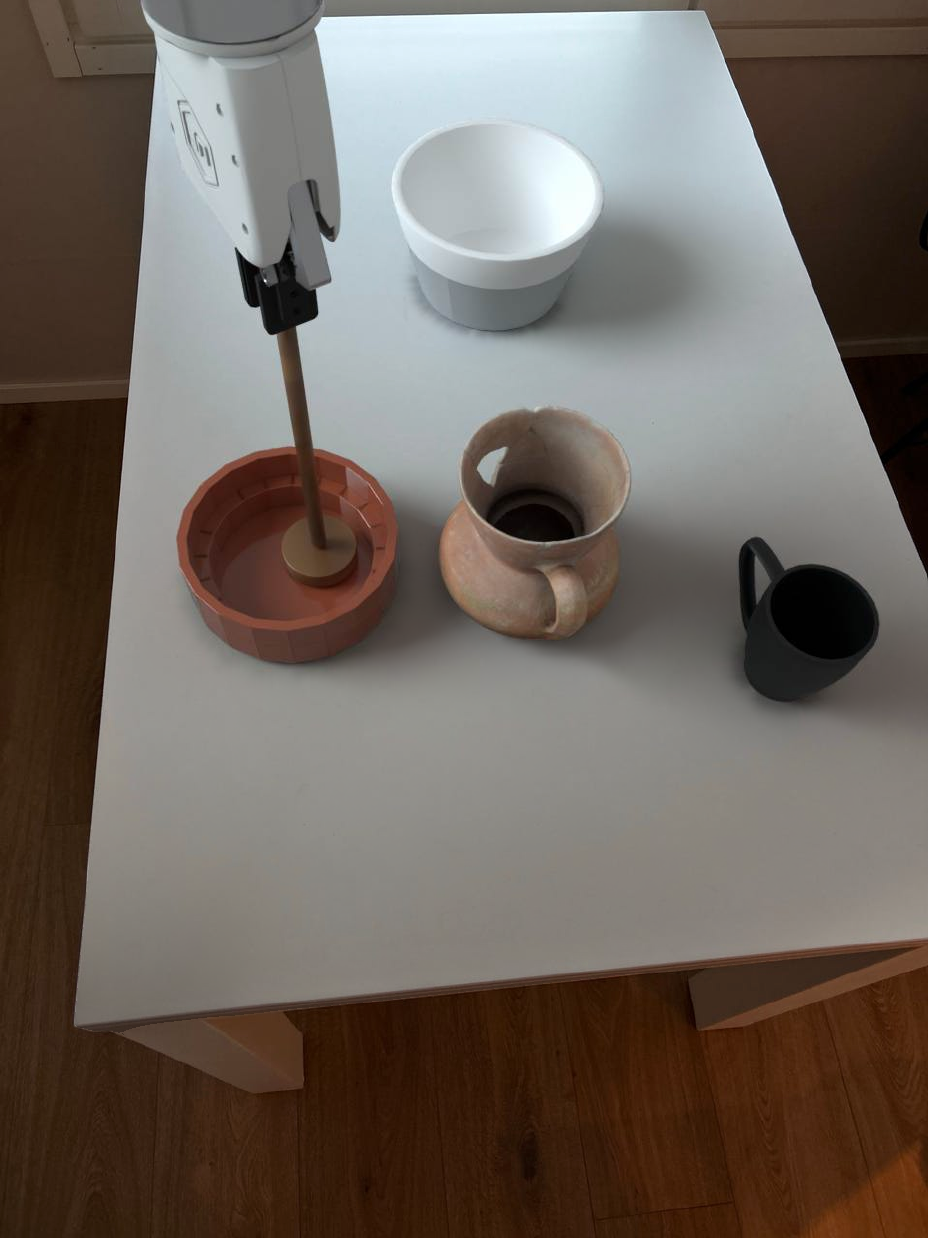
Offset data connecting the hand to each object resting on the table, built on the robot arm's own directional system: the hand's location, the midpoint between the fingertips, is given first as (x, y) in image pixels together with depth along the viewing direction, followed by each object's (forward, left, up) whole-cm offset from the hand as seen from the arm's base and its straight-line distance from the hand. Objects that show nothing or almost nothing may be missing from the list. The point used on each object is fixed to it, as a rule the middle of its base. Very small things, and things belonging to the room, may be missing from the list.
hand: (282, 308), depth 55 cm
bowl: (+30, +21, -28) cm, 46 cm away
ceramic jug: (+14, -10, -28) cm, 32 cm away
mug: (+27, -25, -28) cm, 46 cm away
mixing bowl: (-2, 0, -28) cm, 28 cm away
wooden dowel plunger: (0, 0, -27) cm, 27 cm away
